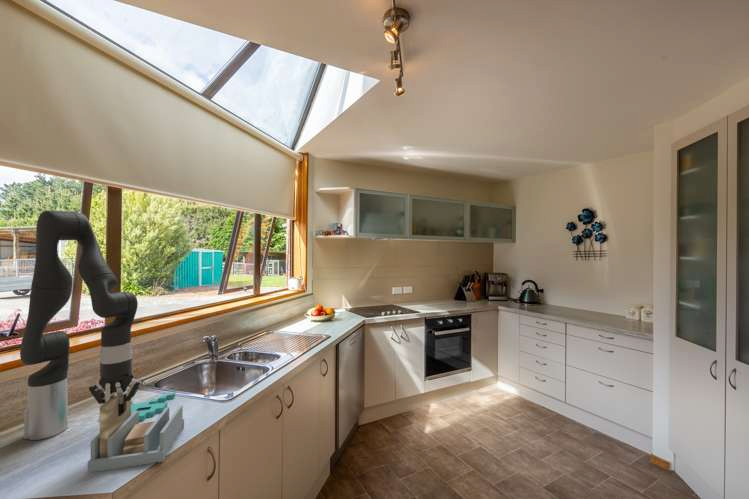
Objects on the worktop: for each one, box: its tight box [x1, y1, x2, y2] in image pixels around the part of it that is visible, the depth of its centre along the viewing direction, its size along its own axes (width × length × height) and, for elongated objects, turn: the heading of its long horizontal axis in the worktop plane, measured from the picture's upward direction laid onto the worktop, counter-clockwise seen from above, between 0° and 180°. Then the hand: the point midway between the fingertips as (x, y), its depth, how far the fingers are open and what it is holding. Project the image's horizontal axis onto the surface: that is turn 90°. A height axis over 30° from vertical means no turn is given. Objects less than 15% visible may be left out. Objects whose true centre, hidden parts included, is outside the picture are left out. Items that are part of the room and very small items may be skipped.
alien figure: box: [98, 391, 176, 422], centre depth 119 cm, size 20×2×20 cm
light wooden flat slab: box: [99, 386, 132, 458], centre depth 96 cm, size 2×13×16 cm, turn 14°
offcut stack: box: [122, 420, 155, 455], centre depth 98 cm, size 6×12×5 cm, turn 21°
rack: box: [87, 405, 185, 474], centre depth 97 cm, size 18×18×8 cm
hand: (116, 414), depth 96 cm, fingers closed on light wooden flat slab, 2 cm apart
